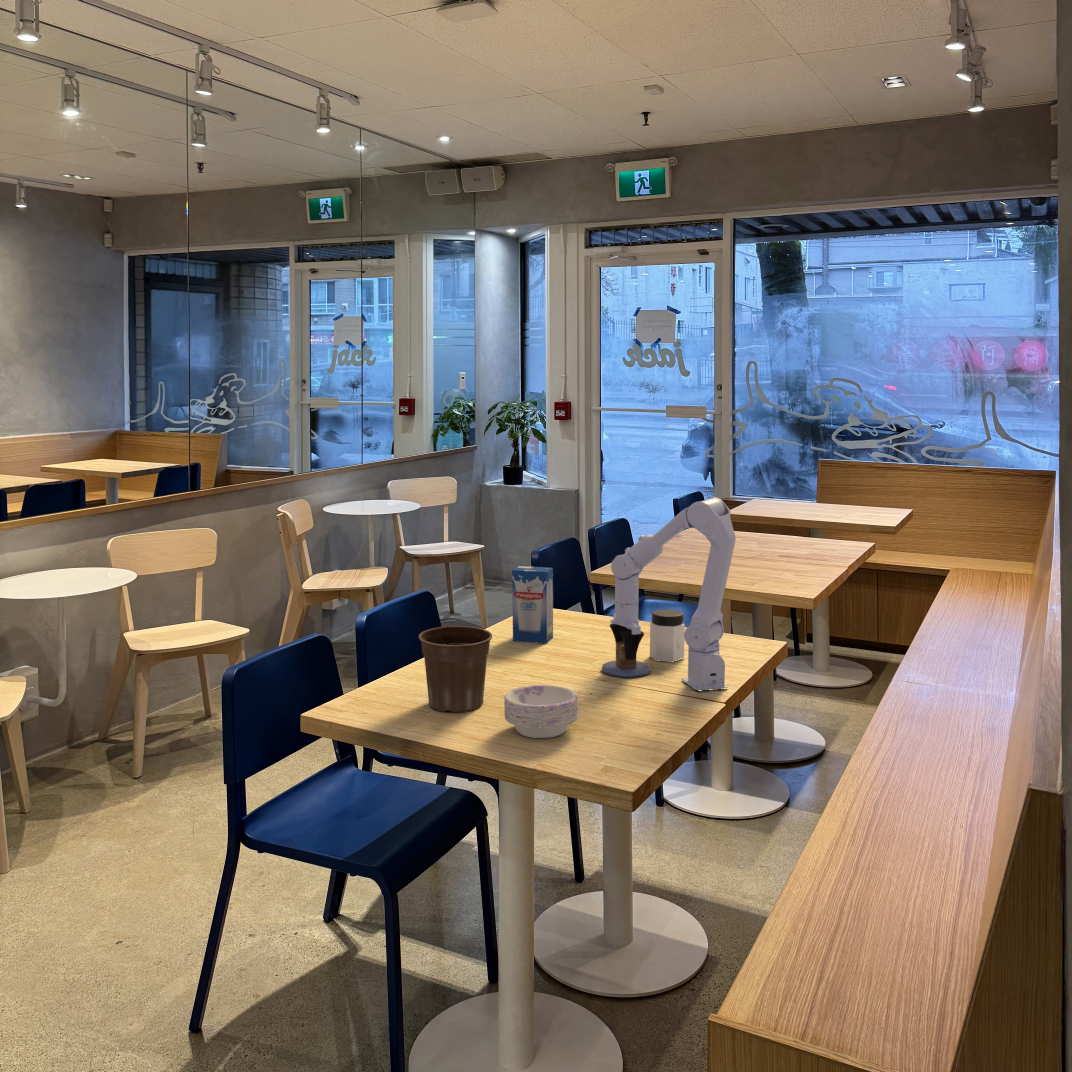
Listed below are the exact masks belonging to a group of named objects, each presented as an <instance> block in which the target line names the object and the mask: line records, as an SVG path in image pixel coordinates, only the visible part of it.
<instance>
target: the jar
mask: <svg viewBox="0 0 1072 1072" xmlns="http://www.w3.org/2000/svg"><path fill="white" fill-rule="evenodd" d="M684 617H685V616H684V613H683V612H682V611H680V610H677V609H671V608H670V609H668V608H666V609H657V610H653V611H652V612H651V621H650V622H649V627H650V628H649V657H650V656H651V657H650V658H651V659H653V658H654V659H655V660H659V661H658V662H661V661H675V660H678V659H680V658H683V657H684V658H685V638H684V634H685V630H686V625H685V623H684ZM654 659H653V660H654ZM655 660H654V661H655Z"/></svg>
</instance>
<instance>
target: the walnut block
mask: <svg viewBox="0 0 1072 1072" xmlns="http://www.w3.org/2000/svg"><path fill="white" fill-rule="evenodd" d="M615 661H616V666H617V667H618V668H619V669H621V670H625V669H636V661H637V656H636V657H635V659H632V660H627V659H626V656H625V647H624V642H615Z"/></svg>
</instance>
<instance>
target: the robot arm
mask: <svg viewBox="0 0 1072 1072" xmlns="http://www.w3.org/2000/svg"><path fill="white" fill-rule="evenodd" d="M691 528H694V529H695V530H697V531H698V532H699V533H701V534H702V535H703V536H705V538H706V539H707V541H708V542H709V543H710V547H709V553H708V557H707V562H706V566H705V572H704V576H703V580H702V586H701V591H700V596H699V599H698V604H697V608H696V610H695V612H694V613H693V615H692V617H691V620H690V623H689V625H688V626H687V627H685V634H684V638H685V639H684V642H685V643H686V645H687V646H688V655H687V660H688V661H687V677H682V678H681V681H682V680H683V681H685V682H686V683H687V684H689V685H690V686H691V687H692V688H691V687H690V686H689V685H688V686H689V687H690V688H691V689H693V688H694V689H695V690H709V689H721V688H728V689H729V686H728V685H726V684H725V679H726V678H725V675H726V674H725V673H726V662H725V660H724V659H723V657H722V656H721V654H720V643H719V642H720V641H719V640H721V639H722V638H723V636H724V631H725V630H724V629H725V628H724V625H723V619H724V615H723V612H722V611H721V609H722V605H723V600H724V595H725V590H726V585H727V581H728V576H729V572H730V567H731V562H732V558H733V553H734V549H735V543H736V534H735V530H734V527H733V522H732V520H731V510H730V508H729V507H728V505H726V503H725V502H724V501H723V500H722V499H720V498H718V497H710V498H708V499H707V498H706V499H705V500H701V501H696V502H695V501H694V502H693V503H691V505H689V506H688V507H686V508H683V509H682V510H681V511H680V512H679V513H677V514H676V515H675V516H674V517H673V518H672V519H671V520H670V521H668V522H667V523H666V524H665V525H664V526H662V528H660V529H659V530H658V531H657V532H655V534H645V535H644V534H643V535H640V536H639V537H638V538H637V540H638V541H637V542H636V543H634V544H633V545H632V546H631V547H626V548H625V549H624V554H619V555H616V556H615V557H614V558H613V560H612V561H611V565H610V569H611V572H612V575H614V578H615V580H614V583H615V586H614V587H615V588H614V589H615V590H614V604H615V605H614V612H613V616H612V617H613V618H612V619H610V620H609V621H610V624H609V628H610V629H611V631H612V634H613V637H614V641H615V643H616V642H624V647H625V656H626V659H627V660H632V659H635V657H636V658H637V653H638V650H639V647H640V646H639V645H640V643H641V641H642V639H643V638H644V636H645V633H644V631H641V630H642V628H641V625H640V619H639V589H640V587H639V584H640V583H639V581H640V574H641V573H642V572H643V570H644V568H645V567H646V566H647V565H649V564H650V563H651V562H653V561H654V560H655V559H656V558H658V557H659V556H660V555H661V554H662V553H663V549H664V545H665V544H667V543H668V542H669V541H671V540H672V539H674V538H675V537H676V536H678V535H679V534H680V533H682V532H683V531H684V530H686V529H691ZM684 679H685V680H684ZM683 681H682V682H683ZM685 682H684V683H685ZM686 683H685V684H686ZM687 684H686V685H687ZM694 689H693V690H694ZM695 690H694V691H695ZM721 690H722V689H721Z"/></svg>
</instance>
